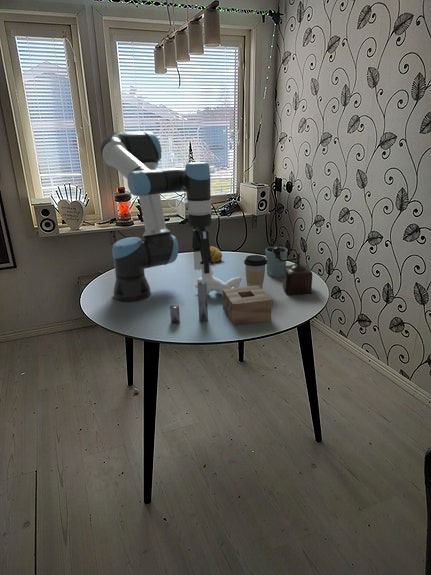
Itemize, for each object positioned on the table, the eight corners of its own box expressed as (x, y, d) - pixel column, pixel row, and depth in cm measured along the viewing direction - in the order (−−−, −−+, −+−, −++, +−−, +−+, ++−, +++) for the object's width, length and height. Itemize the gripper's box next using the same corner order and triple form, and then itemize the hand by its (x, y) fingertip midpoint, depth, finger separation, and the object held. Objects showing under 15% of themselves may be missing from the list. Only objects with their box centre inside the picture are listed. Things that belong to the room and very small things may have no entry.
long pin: (198, 318, 137) (196, 282, 132) (206, 317, 138) (205, 281, 133) (200, 322, 134) (198, 285, 129) (208, 321, 135) (207, 284, 130)
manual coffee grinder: (306, 284, 165) (308, 244, 158) (311, 294, 155) (315, 252, 148) (270, 285, 165) (271, 245, 158) (273, 295, 155) (275, 253, 148)
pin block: (222, 308, 144) (222, 289, 141) (257, 304, 147) (258, 285, 144) (233, 325, 132) (232, 304, 129) (271, 320, 134) (271, 299, 131)
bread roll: (202, 256, 206) (201, 242, 203) (219, 255, 207) (219, 241, 204) (204, 264, 194) (204, 249, 191) (223, 263, 195) (223, 248, 192)
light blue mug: (281, 279, 172) (282, 253, 167) (261, 275, 177) (261, 250, 172) (289, 272, 180) (290, 248, 175) (270, 269, 185) (270, 245, 180)
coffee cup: (242, 288, 163) (242, 254, 157) (264, 287, 163) (265, 253, 158) (245, 297, 154) (245, 261, 148) (268, 295, 154) (269, 260, 149)
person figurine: (240, 265, 158) (198, 262, 153) (248, 282, 148) (204, 279, 143) (233, 291, 165) (192, 289, 160) (240, 308, 155) (198, 307, 150)
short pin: (170, 320, 136) (169, 305, 134) (179, 319, 137) (178, 304, 134) (171, 324, 133) (170, 309, 131) (180, 323, 134) (179, 308, 131)
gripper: (182, 207, 132) (185, 265, 140) (195, 221, 109) (198, 289, 117) (203, 206, 134) (205, 263, 141) (220, 219, 111) (222, 286, 119)
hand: (202, 275), depth 129 cm, fingers open, 13 cm apart
